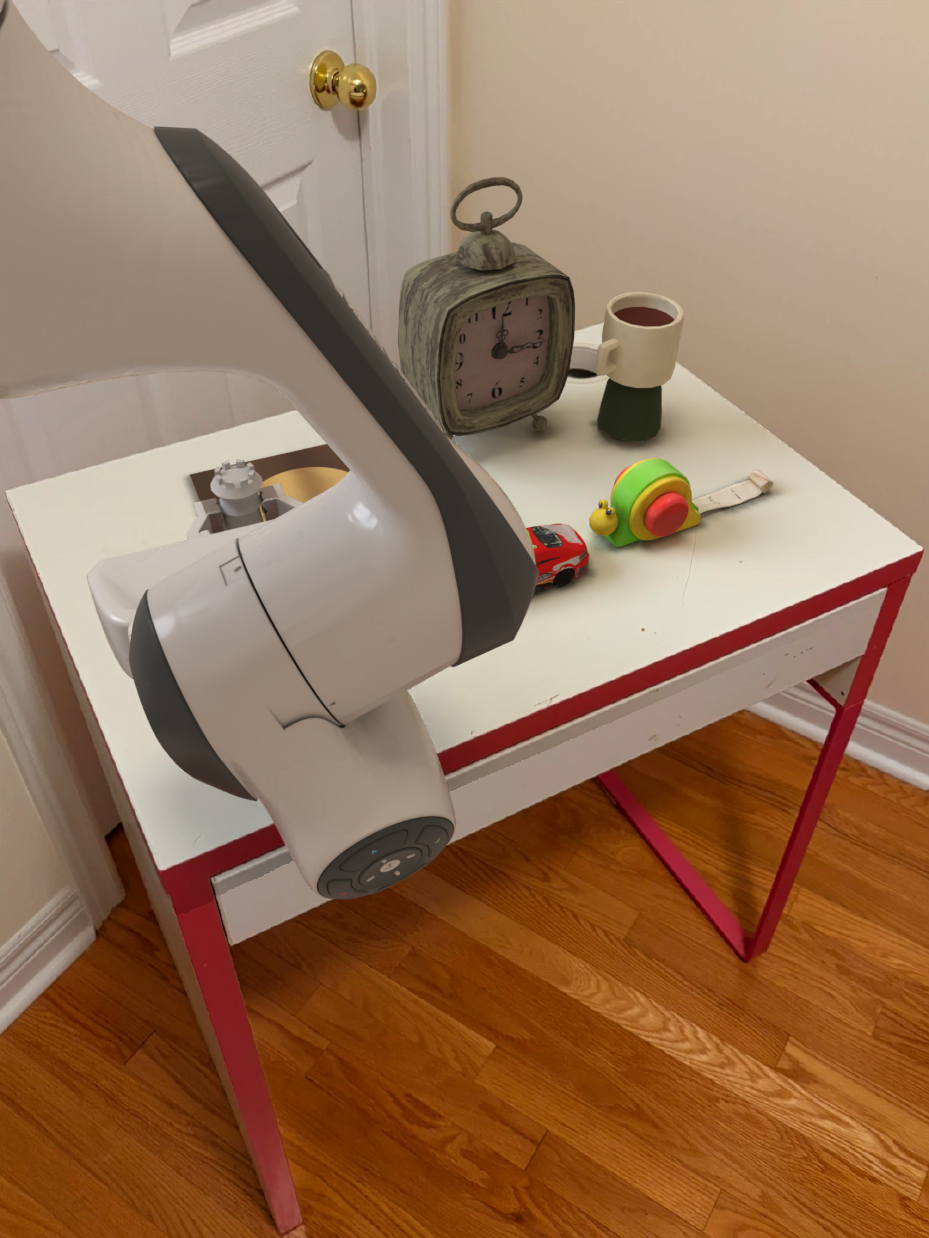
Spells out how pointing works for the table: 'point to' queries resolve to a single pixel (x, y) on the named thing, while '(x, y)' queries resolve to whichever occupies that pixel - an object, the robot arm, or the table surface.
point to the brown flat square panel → (287, 473)
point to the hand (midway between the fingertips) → (237, 501)
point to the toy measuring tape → (662, 502)
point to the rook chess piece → (238, 494)
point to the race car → (557, 554)
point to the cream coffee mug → (637, 362)
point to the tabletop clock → (486, 328)
